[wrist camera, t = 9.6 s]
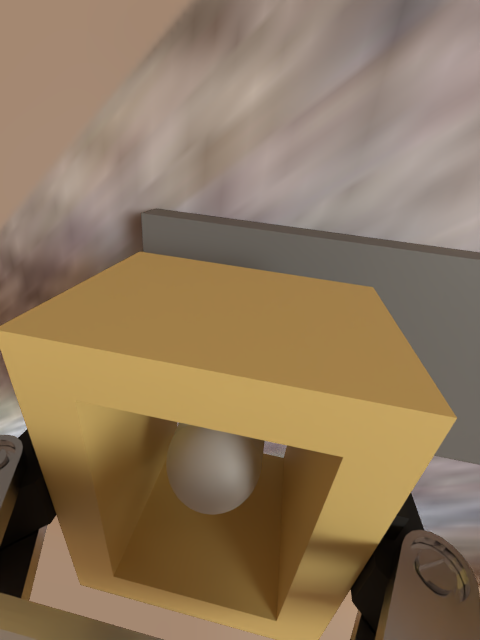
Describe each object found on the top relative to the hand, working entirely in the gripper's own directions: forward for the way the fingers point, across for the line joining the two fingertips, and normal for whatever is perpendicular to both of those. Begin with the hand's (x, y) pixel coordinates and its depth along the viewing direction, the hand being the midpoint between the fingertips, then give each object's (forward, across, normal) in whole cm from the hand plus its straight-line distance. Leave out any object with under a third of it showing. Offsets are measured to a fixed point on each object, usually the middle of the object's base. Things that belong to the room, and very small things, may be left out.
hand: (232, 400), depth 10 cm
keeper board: (+6, -7, 0) cm, 9 cm away
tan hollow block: (+1, 0, 0) cm, 1 cm away
